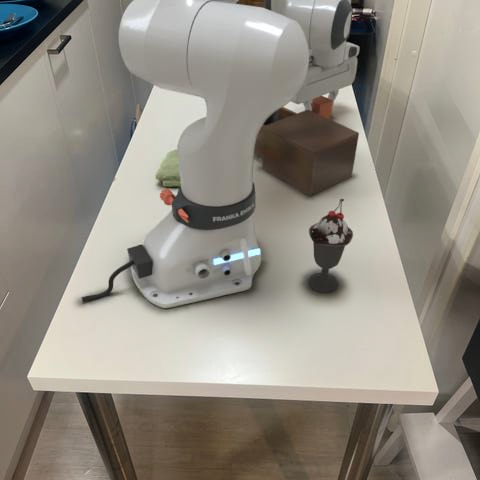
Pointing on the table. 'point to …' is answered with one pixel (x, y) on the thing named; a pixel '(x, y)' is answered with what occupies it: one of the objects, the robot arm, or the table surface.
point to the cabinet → (309, 151)
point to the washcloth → (170, 170)
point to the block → (322, 106)
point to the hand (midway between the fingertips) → (319, 111)
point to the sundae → (328, 248)
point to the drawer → (272, 118)
